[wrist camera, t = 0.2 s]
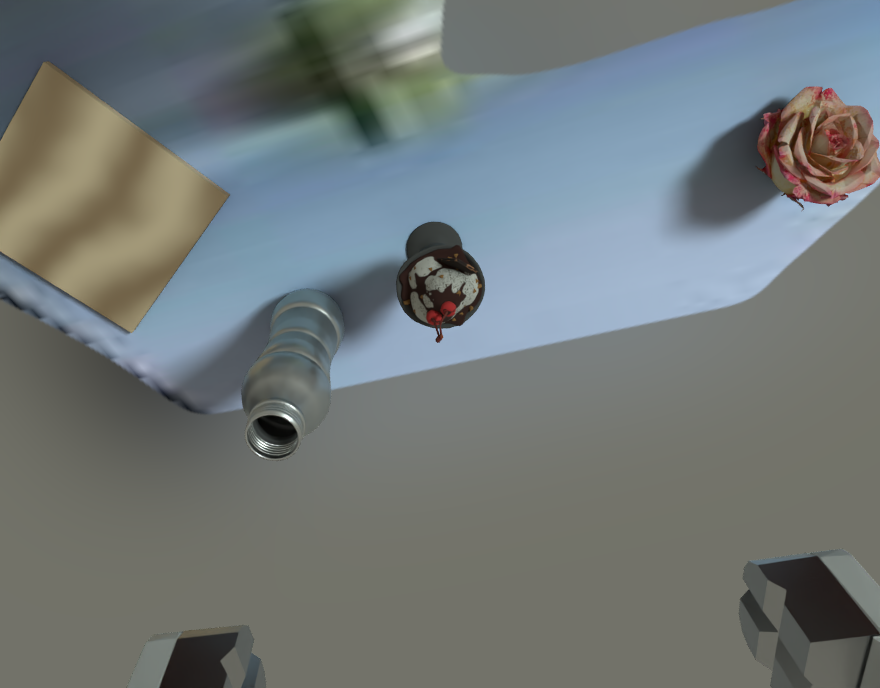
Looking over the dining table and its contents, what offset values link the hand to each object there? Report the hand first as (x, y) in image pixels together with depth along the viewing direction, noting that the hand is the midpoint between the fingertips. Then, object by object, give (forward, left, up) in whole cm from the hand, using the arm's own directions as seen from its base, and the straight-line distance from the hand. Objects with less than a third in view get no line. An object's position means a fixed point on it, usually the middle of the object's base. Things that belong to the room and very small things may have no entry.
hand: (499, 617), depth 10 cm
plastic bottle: (+13, -12, -48) cm, 51 cm away
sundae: (+8, 0, -48) cm, 49 cm away
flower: (+2, +31, -48) cm, 57 cm away
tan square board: (+1, -28, -48) cm, 55 cm away
